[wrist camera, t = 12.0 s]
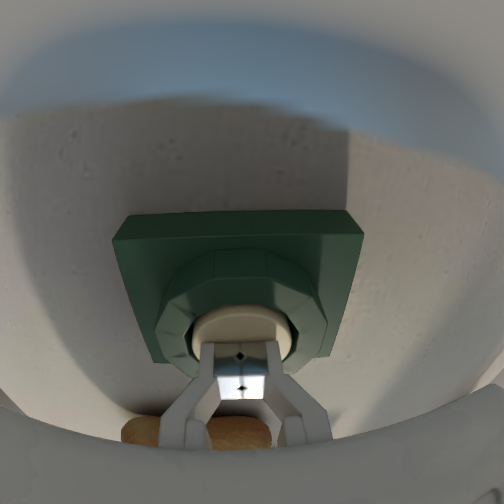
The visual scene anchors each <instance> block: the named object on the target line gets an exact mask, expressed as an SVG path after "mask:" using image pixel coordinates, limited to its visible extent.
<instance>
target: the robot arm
mask: <svg viewBox="0 0 504 504" xmlns="http://www.w3.org/2000/svg"><path fill="white" fill-rule="evenodd" d="M256 398H263V399H264V401H265V402H266V403H267V404H268V406H269V407H270V408H271V409H272V411H273V412H274V413H275V414H276V415H277V417H278V418H279V419H280V420H281V422H282V426H281V429H280V433H279V436H278V440H277V442H278V448H268V449H254V450H212V441H211V439H210V436H209V433H208V431H207V428H206V424H207V422H208V421H209V419H210V418H211V416H212V415H213V413H214V412H215V410H216V409H217V407H218V406H219V404H220V402H221V400H230V399H256ZM0 504H504V389H503V388H502V387H500V386H498V385H496V384H489V385H486V386H484V387H483V388H481V389H479V390H477V391H475V392H473V393H471V394H469V395H467V396H465V397H463V398H460V399H458V400H456V401H454V402H452V403H449V404H447V405H445V406H442V407H440V408H438V409H435V410H433V411H430V412H428V413H425V414H422V415H420V416H417V417H414V418H411V419H408V420H405V421H402V422H399V423H396V424H393V425H390V426H386V427H383V428H380V429H376V430H372V431H369V432H365V433H361V434H357V435H352V436H348V437H343V438H339V439H334V440H333V437H332V432H331V428H330V424H329V420H328V415H327V411H326V410H325V409H324V408H323V407H322V406H321V405H320V404H319V403H318V402H317V401H316V400H315V399H313V398H312V397H311V396H310V395H309V394H308V393H307V392H306V391H305V390H304V389H303V388H302V387H301V386H300V385H299V384H298V383H297V382H296V381H295V380H294V379H293V378H292V377H291V376H290V375H289V374H284V371H283V365H282V359H281V354H280V348H279V342H278V341H277V340H272V341H252V342H239V343H201V346H200V360H199V376H198V377H194V379H193V380H192V381H191V382H190V383H189V385H188V386H187V387H186V388H185V389H184V391H183V392H182V393H181V394H180V395H179V396H178V398H177V399H176V400H175V401H174V402H173V403H172V405H171V406H170V407H169V408H168V409H167V410H166V411H165V413H164V414H163V415H162V416H161V420H160V428H159V438H158V447H152V446H144V445H137V444H130V443H124V442H119V441H113V440H108V439H103V438H99V437H94V436H90V435H86V434H82V433H78V432H74V431H71V430H67V429H64V428H60V427H57V426H54V425H51V424H48V423H45V422H42V421H39V420H36V419H34V418H31V417H28V416H26V415H23V414H21V413H18V412H15V411H13V410H11V409H9V408H6V407H4V406H2V405H0Z"/></svg>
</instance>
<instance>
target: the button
mask: <svg viewBox="0 0 504 504" xmlns="http://www.w3.org/2000/svg"><path fill="white" fill-rule="evenodd" d="M272 340H277V341H278V342H279V348H280V354H281V359H282V360H283V359H284V358H285V357H286V356H287V354H288V353H289V351H290V348H291V343H292V339H291V334H290V329H289V324H288V320H287V315H286V313H283V312H280V311H277V310H275V309H272V308H269V307H267V306H264V305H262V304H259V303H253V304H224V305H222V306H219V307H217V308H215V309H213V310H211V311H208V312H206V313H204V314H202V315H199V316H197V317H196V318H195V319H194V328H193V337H192V349H193V352H194V354H195V355H196V357H197V358H198V359H199V360H200V346H201V343H239V342H252V341H272Z"/></svg>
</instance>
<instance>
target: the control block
mask: <svg viewBox="0 0 504 504" xmlns="http://www.w3.org/2000/svg"><path fill="white" fill-rule="evenodd" d="M363 238H364V232H363V231H362V230H361V228H360V227H359V226H358V224H357V223H356V222H355V221H354V219H353V218H352V217H351V216H350V215H349V213H348V212H347V211H345V210H260V211H219V212H192V213H171V214H153V215H137V216H128V217H127V218H126V220H125V221H124V223H123V224H122V226H121V227H120V229H119V230H118V231H117V233H116V234H115V236H114V238H113V239H112V243H113V247H114V251H115V254H116V258H117V261H118V265H119V268H120V272H121V275H122V278H123V281H124V284H125V288H126V291H127V294H128V297H129V300H130V303H131V305H132V308H133V311H134V314H135V317H136V319H137V322H138V325H139V327H140V330H141V333H142V335H143V338H144V340H145V343H146V345H147V348H148V350H149V352H150V355H151V357H152V360H153V362H154V363H170V364H173V365H174V366H176V367H177V368H178V369H180V370H181V371H182V372H184V373H185V374H186V375H188V376H190V377H192V378H194V377H198V376H199V359H198V358H197V357H196V355H195V354H194V352H193V349H192V337H193V328H194V319H195V318H196V317H197V316H199V315H202V314H204V313H206V312H208V311H211V310H213V309H215V308H217V307H219V306H222V305H224V304H253V303H259V304H262V305H264V306H267V307H269V308H272V309H275V310H277V311H280V312H283V313H286V315H287V320H288V324H289V329H290V334H291V339H292V343H291V348H290V351H289V353H288V354H287V356H286V357H285V358H284V359H283V360H282V365H283V371H284V374H289V375H292V374H294V373H295V372H297V371H298V370H299V369H301V368H302V367H303V366H304V365H305V364H306V363H308V362H309V361H310V360H311V359H312V358H320V357H328V356H330V353H331V350H332V347H333V344H334V341H335V338H336V335H337V332H338V329H339V326H340V323H341V320H342V317H343V313H344V310H345V307H346V303H347V300H348V296H349V293H350V289H351V286H352V282H353V278H354V275H355V271H356V267H357V263H358V259H359V255H360V251H361V247H362V242H363Z"/></svg>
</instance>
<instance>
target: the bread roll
mask: <svg viewBox="0 0 504 504" xmlns="http://www.w3.org/2000/svg"><path fill="white" fill-rule="evenodd" d="M160 420H161V417H151V416H144V417H137V418H133V419H131V420H129V421H128V422H127V423H126V424H125V425H124V426H123V428H122V430H121V441H122V442H124V443H130V444H137V445H144V446H152V447H158V438H159V428H160ZM206 428H207V431H208V433H209V436H210V439H211V441H212V450H254V449H268V448H270V447H271V441H272V436H271V432H270V430H269V427H268V426H267V425H266V424H265V423H263V422H262V421H260V420H258V419H256V418H252V417H245V416H227V417H211V418H210V419H209V421H208V422H207V424H206Z"/></svg>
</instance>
